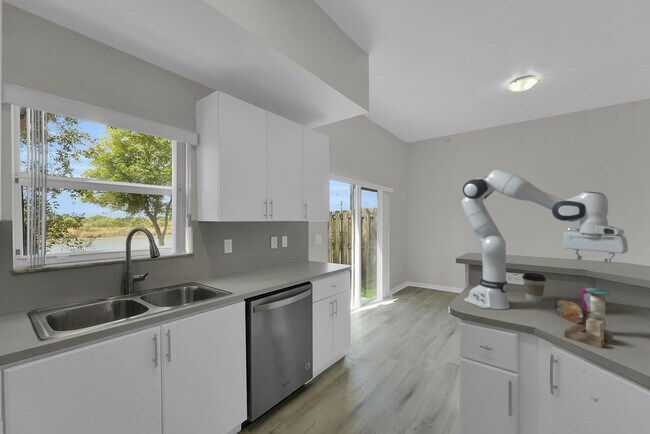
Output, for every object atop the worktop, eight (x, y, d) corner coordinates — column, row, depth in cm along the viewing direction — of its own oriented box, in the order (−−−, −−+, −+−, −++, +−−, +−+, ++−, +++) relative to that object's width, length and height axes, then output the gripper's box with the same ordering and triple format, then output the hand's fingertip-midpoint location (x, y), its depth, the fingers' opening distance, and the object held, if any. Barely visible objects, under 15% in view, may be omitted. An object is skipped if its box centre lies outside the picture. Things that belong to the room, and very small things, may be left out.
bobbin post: (583, 331, 118) (583, 289, 118) (590, 327, 122) (590, 287, 122) (605, 337, 112) (605, 293, 112) (612, 333, 116) (612, 290, 115)
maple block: (586, 340, 110) (586, 320, 110) (590, 337, 112) (590, 318, 112) (599, 344, 107) (599, 323, 107) (603, 341, 109) (603, 321, 109)
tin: (554, 314, 139) (554, 297, 139) (560, 314, 139) (560, 297, 139) (582, 326, 124) (582, 307, 124) (589, 326, 124) (589, 307, 124)
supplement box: (598, 311, 142) (597, 289, 142) (598, 314, 138) (598, 291, 138) (582, 308, 146) (582, 287, 146) (582, 311, 142) (582, 289, 141)
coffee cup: (523, 296, 169) (523, 271, 169) (547, 299, 162) (547, 274, 161) (520, 300, 161) (520, 274, 161) (545, 304, 153) (544, 277, 153)
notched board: (564, 336, 113) (564, 329, 113) (577, 330, 119) (577, 323, 119) (600, 348, 104) (600, 340, 104) (613, 340, 109) (613, 333, 109)
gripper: (560, 228, 126) (559, 258, 127) (623, 230, 108) (623, 266, 109) (566, 227, 129) (566, 257, 130) (629, 230, 111) (629, 264, 111)
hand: (592, 261), depth 119 cm, fingers open, 8 cm apart
